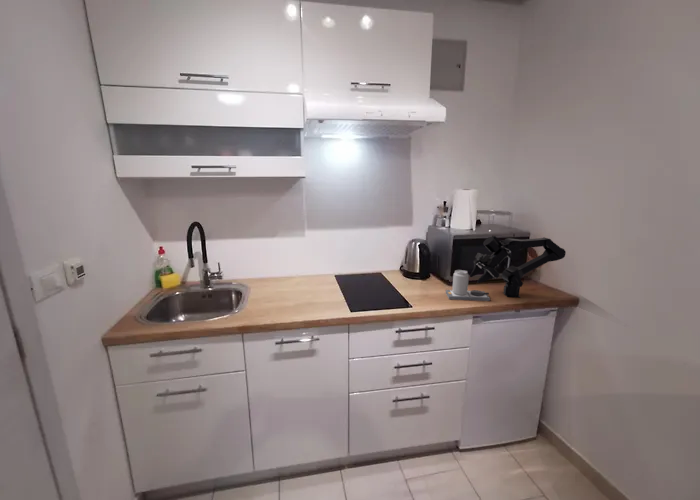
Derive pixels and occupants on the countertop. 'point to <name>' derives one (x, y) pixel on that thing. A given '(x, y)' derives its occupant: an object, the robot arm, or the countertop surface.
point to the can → (460, 282)
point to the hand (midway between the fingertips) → (473, 279)
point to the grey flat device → (469, 295)
